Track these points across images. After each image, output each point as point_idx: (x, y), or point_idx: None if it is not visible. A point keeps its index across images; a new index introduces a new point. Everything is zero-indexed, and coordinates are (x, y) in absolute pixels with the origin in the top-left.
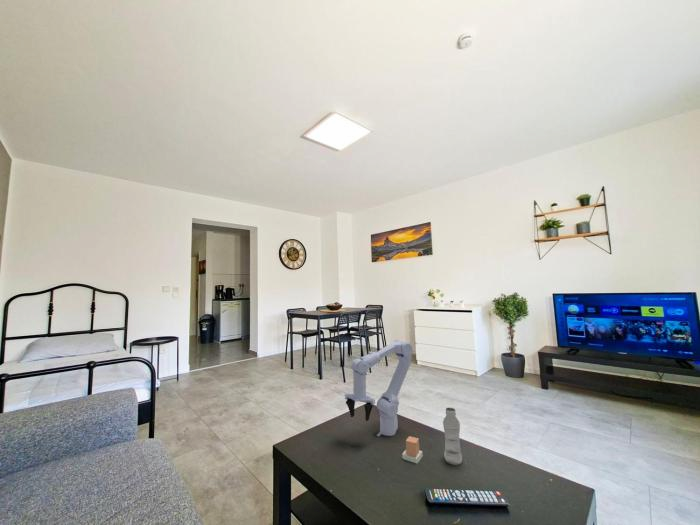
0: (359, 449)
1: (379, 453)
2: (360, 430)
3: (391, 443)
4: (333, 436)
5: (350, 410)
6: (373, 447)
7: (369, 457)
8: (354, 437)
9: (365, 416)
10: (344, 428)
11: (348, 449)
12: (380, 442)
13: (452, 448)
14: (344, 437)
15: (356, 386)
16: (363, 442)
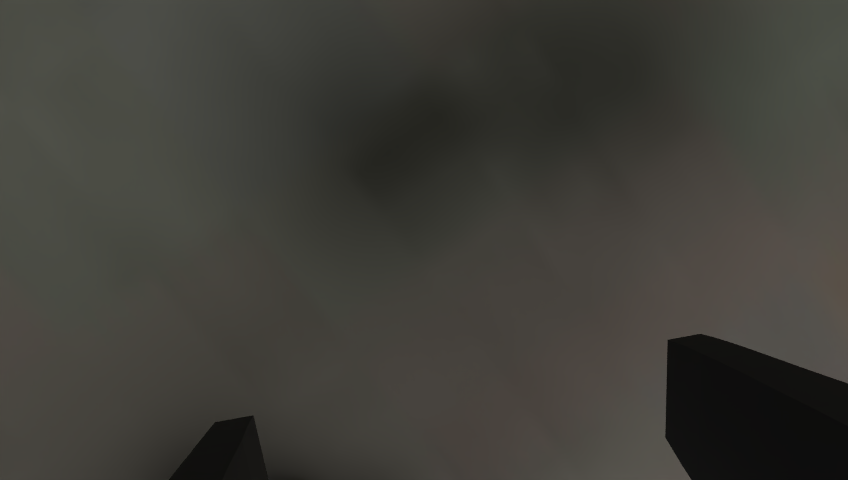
0: (306, 103)
1: (10, 184)
2: (563, 467)
3: (54, 471)
4: (779, 161)
5: (838, 404)
6: (181, 258)
7: (51, 9)
8: (536, 302)
9: (223, 477)
10: None
11: (434, 10)
12: (186, 407)
13: None
14: (645, 226)
15: None
16: (369, 277)
